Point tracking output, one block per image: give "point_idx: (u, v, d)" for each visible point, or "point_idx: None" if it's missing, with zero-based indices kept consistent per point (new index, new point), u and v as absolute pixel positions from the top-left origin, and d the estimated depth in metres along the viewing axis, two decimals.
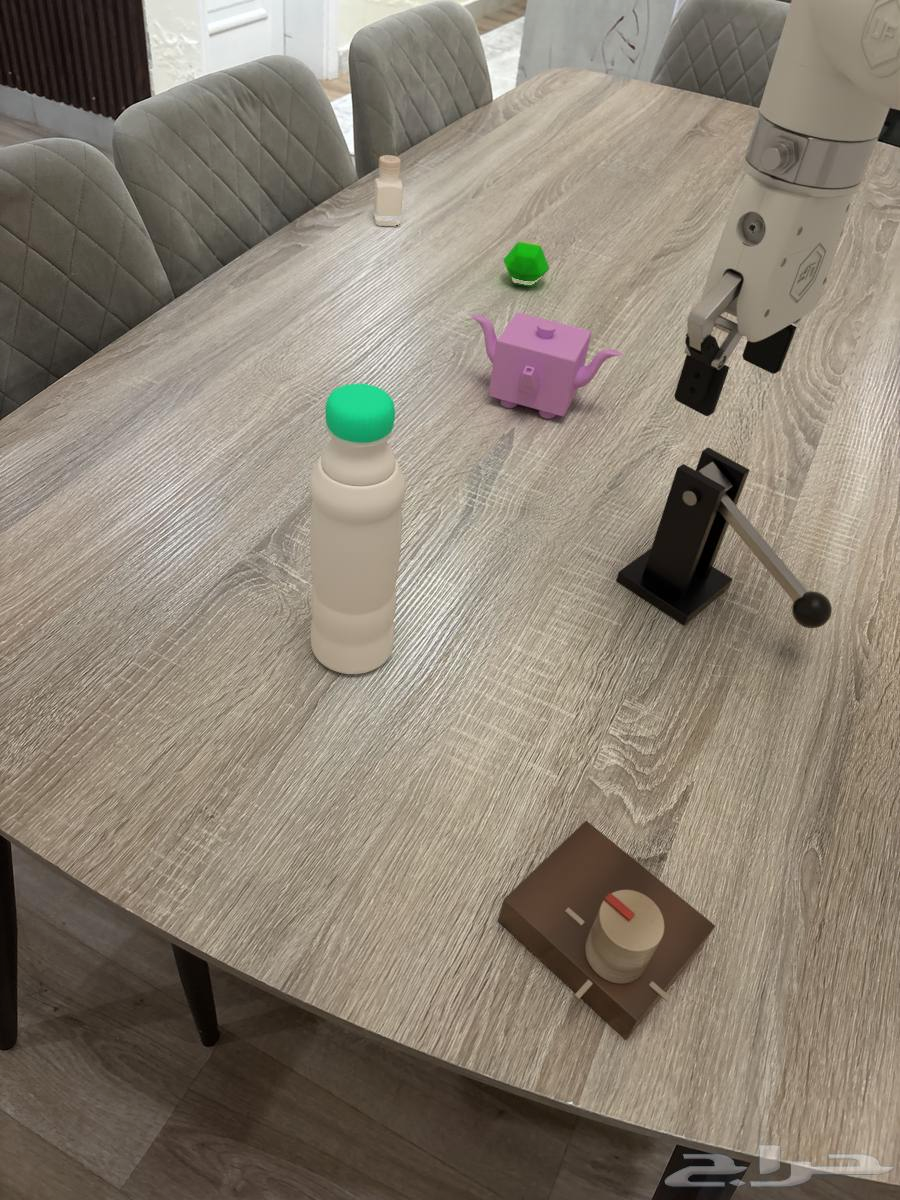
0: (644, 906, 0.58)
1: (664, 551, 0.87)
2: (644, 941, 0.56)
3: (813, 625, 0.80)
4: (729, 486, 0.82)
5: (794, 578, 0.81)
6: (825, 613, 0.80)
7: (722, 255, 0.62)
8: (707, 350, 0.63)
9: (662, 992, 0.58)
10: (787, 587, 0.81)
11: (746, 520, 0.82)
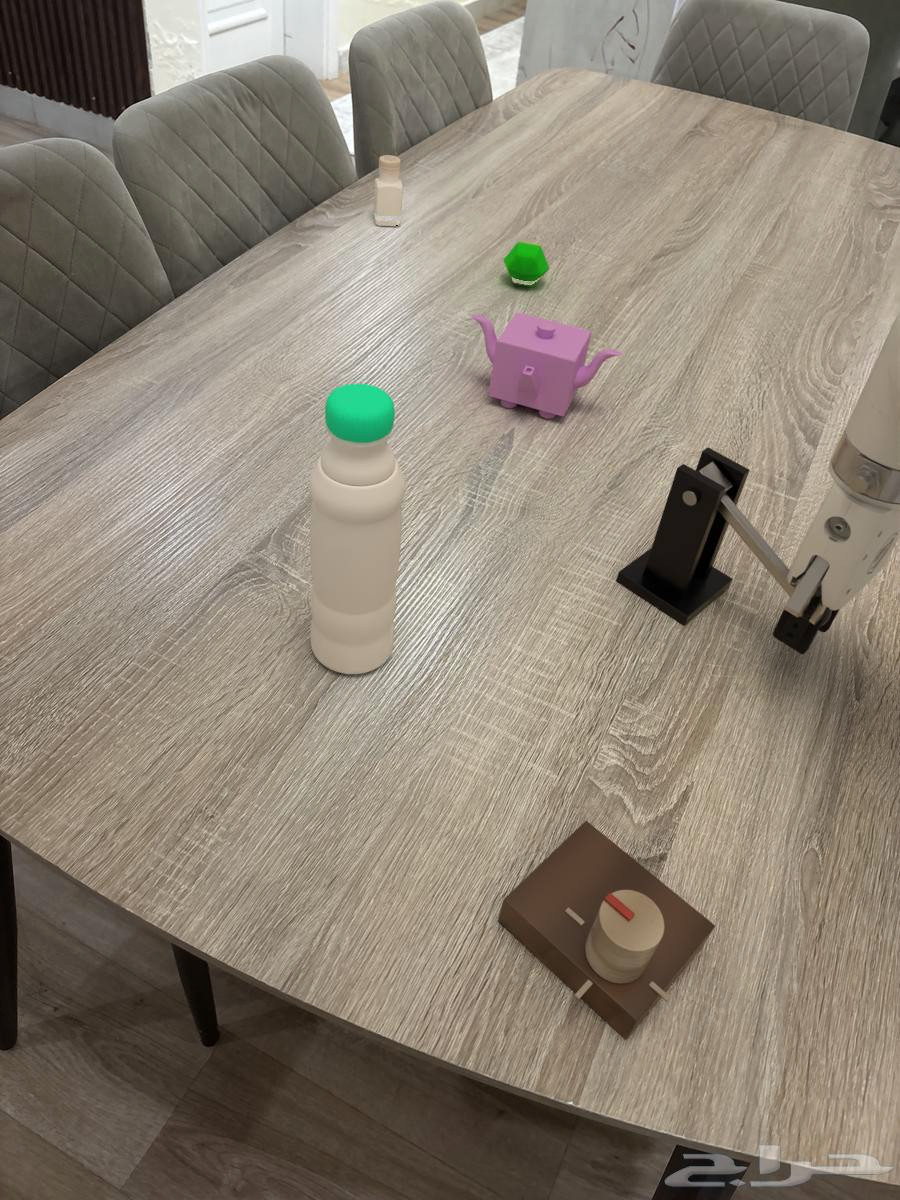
0: (644, 906, 0.58)
1: (664, 551, 0.87)
2: (644, 941, 0.56)
3: None
4: (729, 486, 0.82)
5: None
6: (825, 613, 0.80)
7: (810, 543, 0.73)
8: (808, 615, 0.76)
9: (662, 992, 0.58)
10: (787, 587, 0.81)
11: (746, 520, 0.82)
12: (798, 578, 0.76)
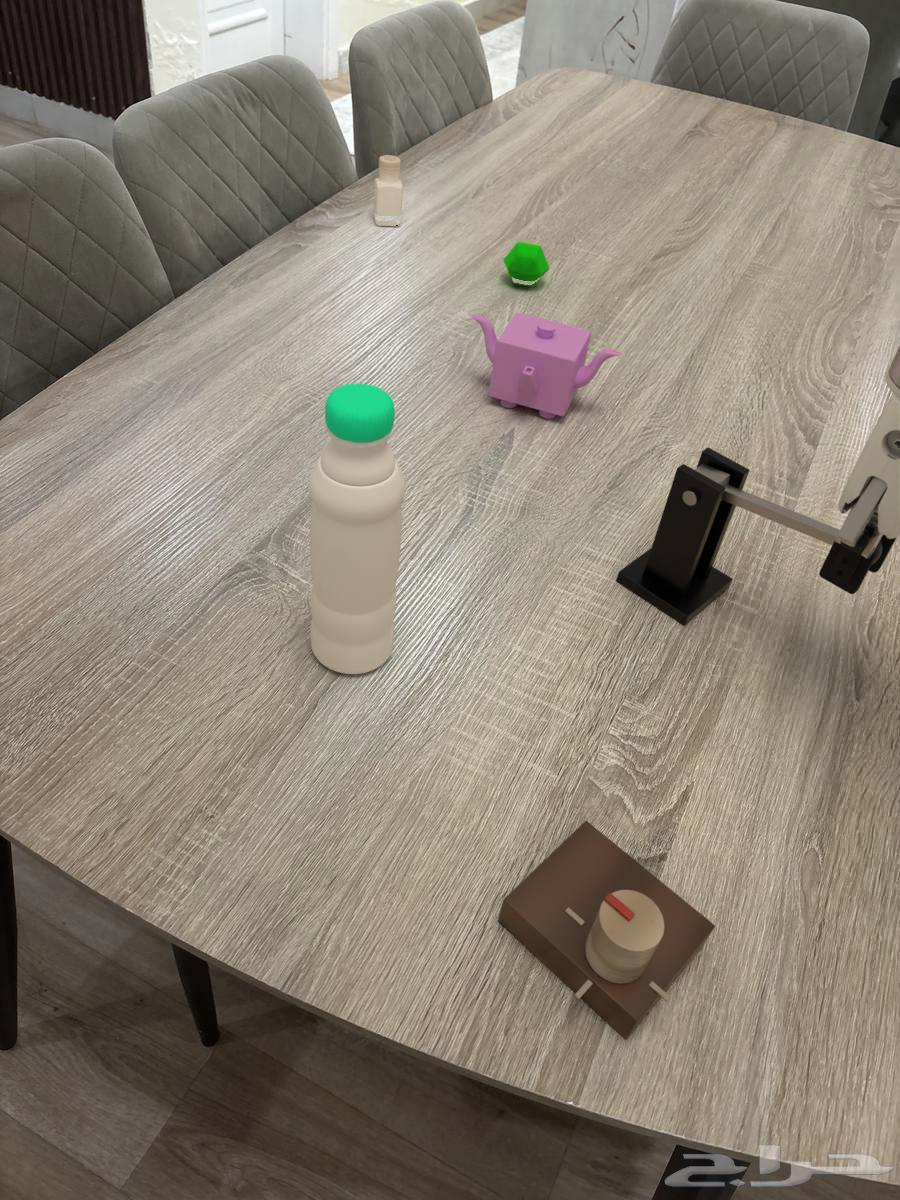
0: (644, 906, 0.58)
1: (664, 551, 0.87)
2: (644, 941, 0.56)
3: None
4: (726, 475, 0.82)
5: (827, 526, 0.77)
6: None
7: (866, 463, 0.66)
8: (861, 546, 0.70)
9: (662, 992, 0.58)
10: (824, 537, 0.76)
11: (756, 497, 0.80)
12: (850, 506, 0.70)
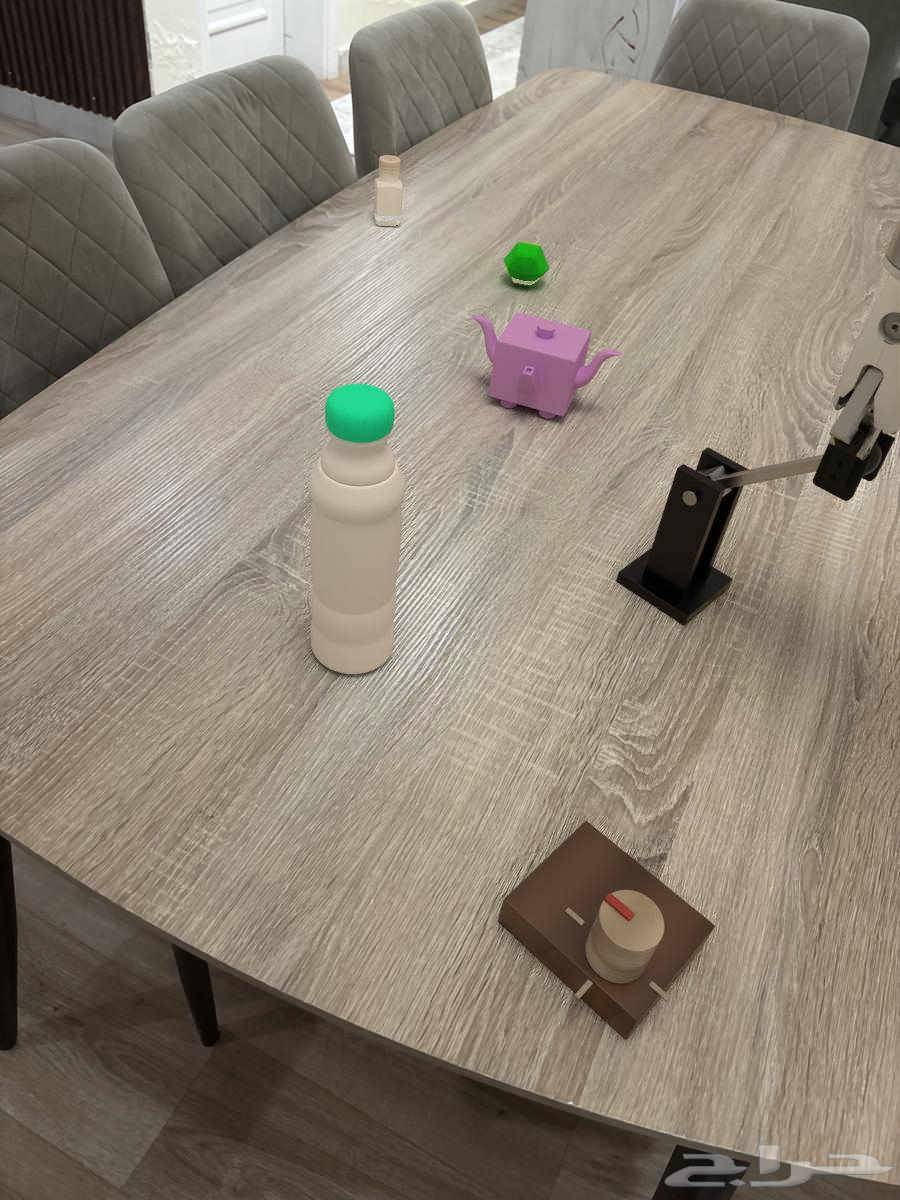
0: (644, 906, 0.58)
1: (664, 551, 0.87)
2: (644, 941, 0.56)
3: None
4: (719, 467, 0.82)
5: (821, 455, 0.74)
6: None
7: (862, 351, 0.63)
8: (856, 444, 0.67)
9: (662, 992, 0.58)
10: None
11: (751, 469, 0.79)
12: (845, 402, 0.67)
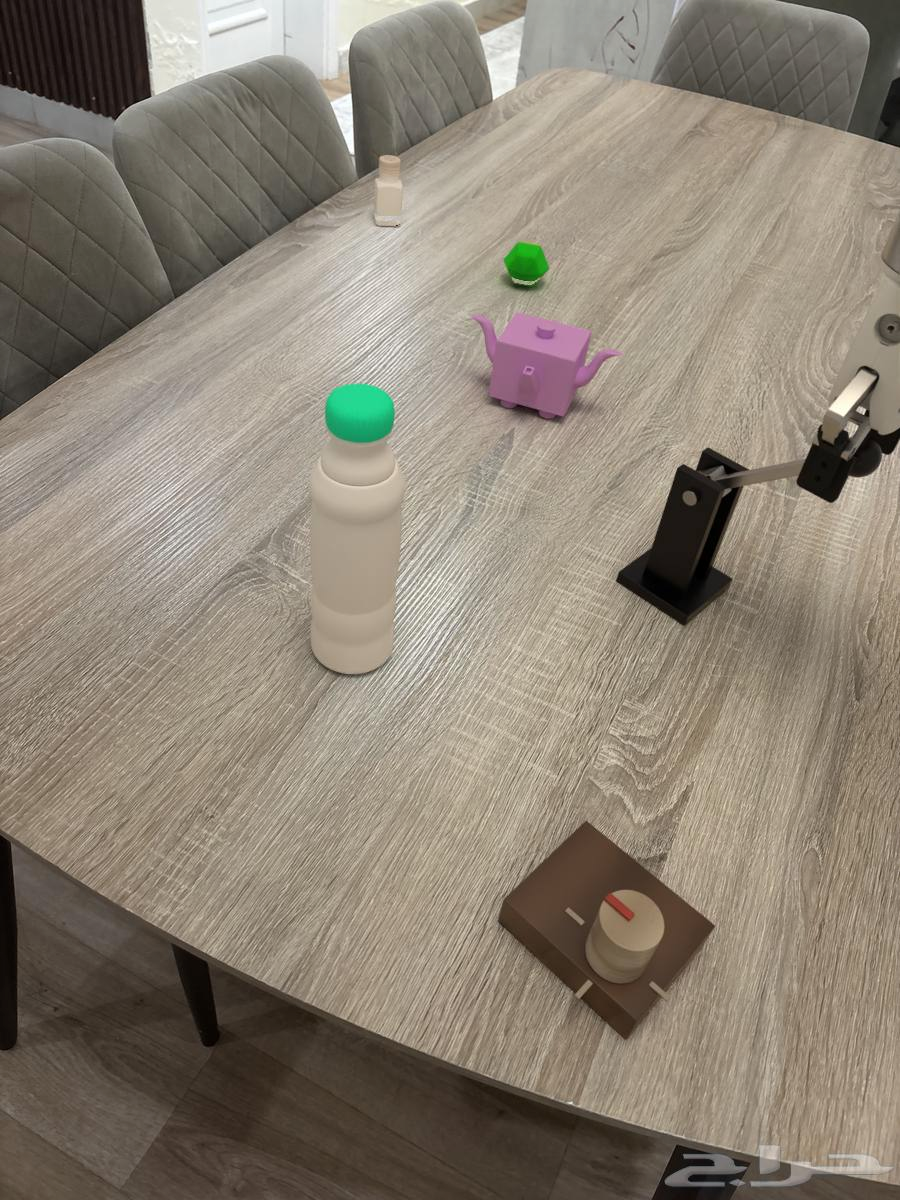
0: (644, 906, 0.58)
1: (664, 551, 0.87)
2: (644, 941, 0.56)
3: (865, 459, 0.70)
4: (719, 467, 0.82)
5: None
6: None
7: (857, 352, 0.63)
8: (840, 444, 0.64)
9: (662, 992, 0.58)
10: None
11: (752, 470, 0.79)
12: None
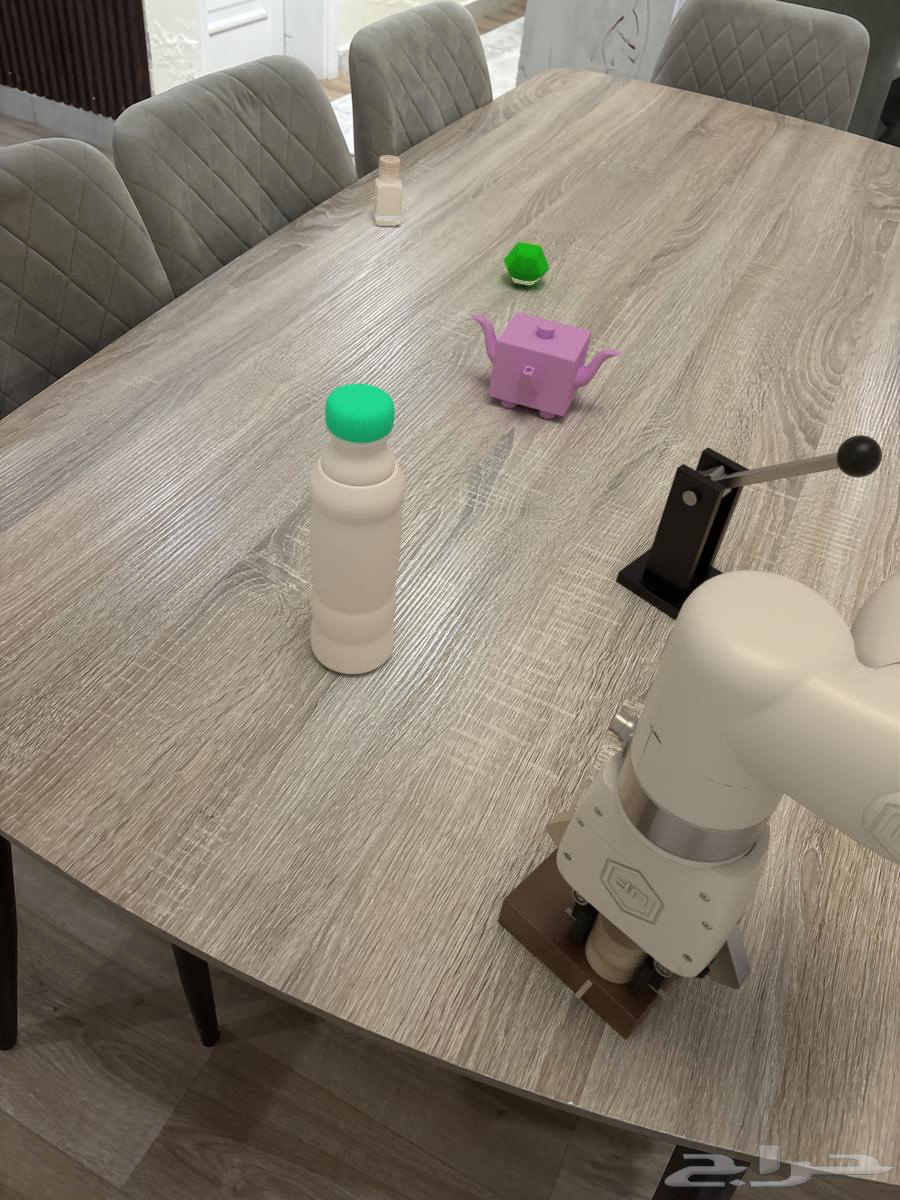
0: None
1: (664, 551, 0.87)
2: None
3: (865, 459, 0.70)
4: (719, 467, 0.82)
5: (822, 456, 0.74)
6: (860, 441, 0.71)
7: None
8: None
9: (662, 992, 0.58)
10: (822, 465, 0.74)
11: (752, 470, 0.79)
12: None
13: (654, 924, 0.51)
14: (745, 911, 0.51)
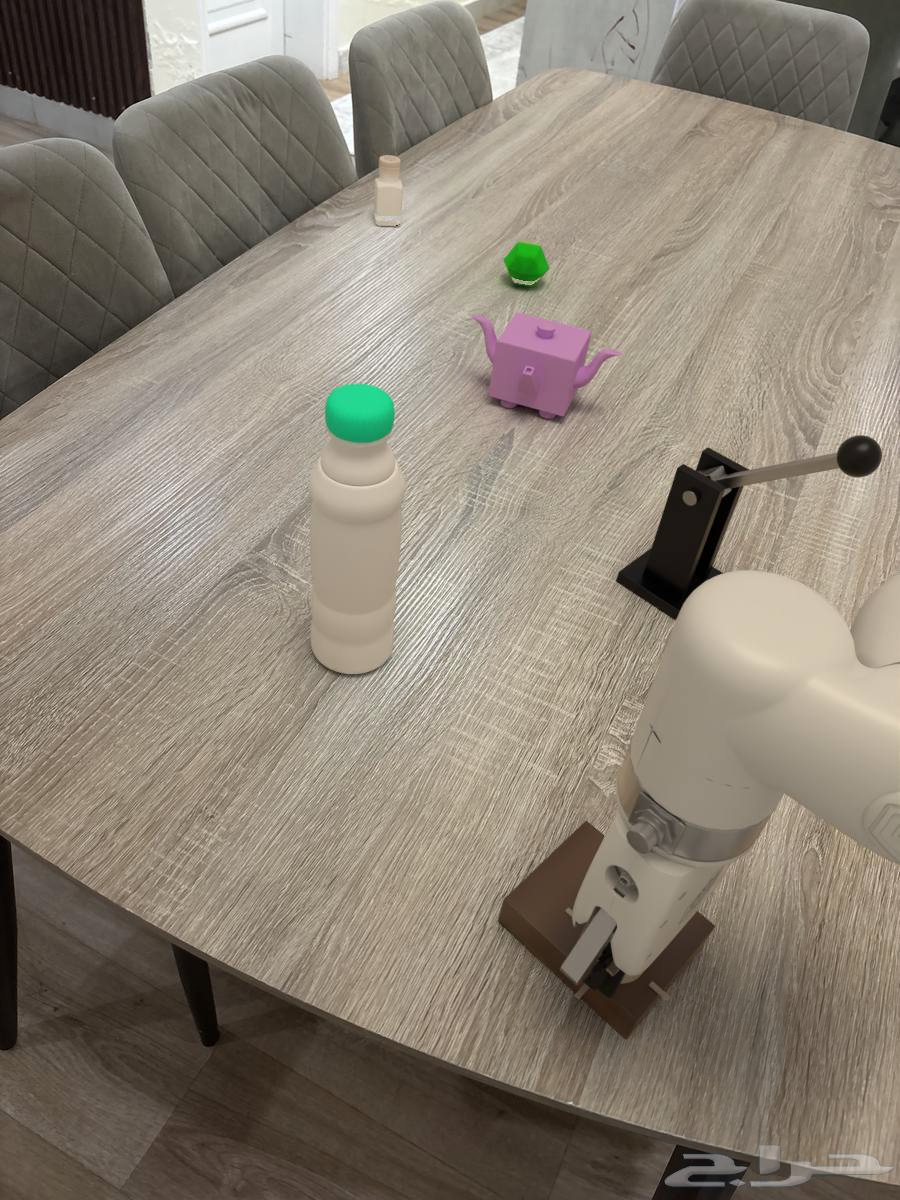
0: None
1: (664, 551, 0.87)
2: None
3: (865, 459, 0.70)
4: (719, 467, 0.82)
5: (822, 456, 0.74)
6: (860, 441, 0.71)
7: (592, 890, 0.49)
8: (598, 973, 0.53)
9: (662, 992, 0.58)
10: (822, 465, 0.74)
11: (752, 470, 0.79)
12: None
13: (714, 882, 0.53)
14: None
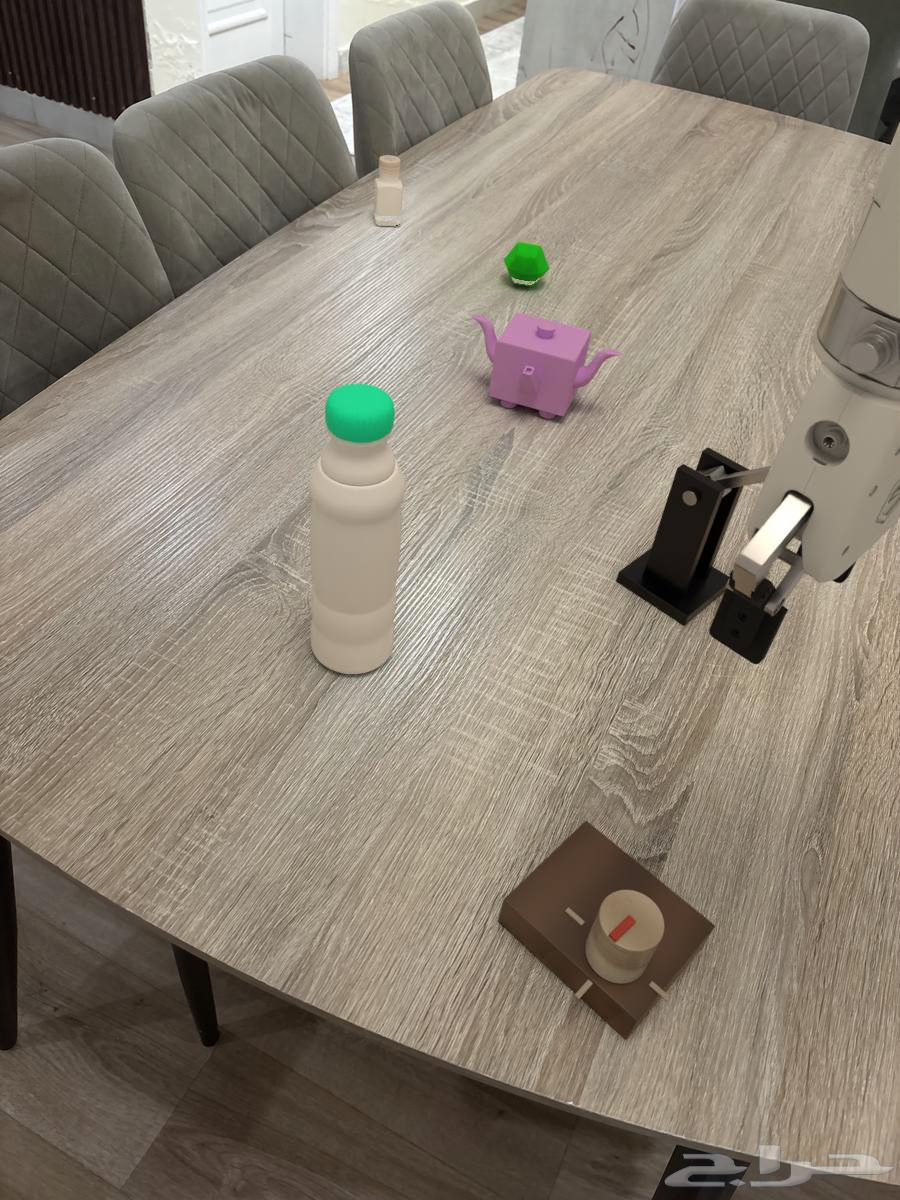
0: (616, 904, 0.58)
1: (664, 551, 0.87)
2: (653, 912, 0.57)
3: None
4: (719, 467, 0.82)
5: None
6: None
7: (783, 471, 0.44)
8: (760, 598, 0.45)
9: (662, 992, 0.58)
10: None
11: (752, 470, 0.79)
12: None
13: None
14: None
